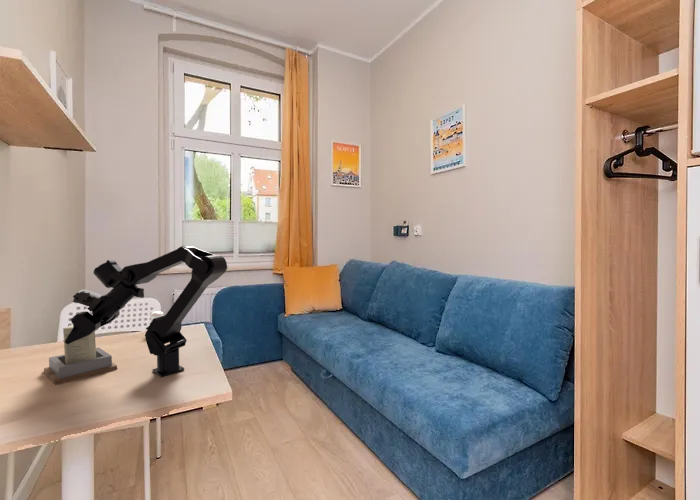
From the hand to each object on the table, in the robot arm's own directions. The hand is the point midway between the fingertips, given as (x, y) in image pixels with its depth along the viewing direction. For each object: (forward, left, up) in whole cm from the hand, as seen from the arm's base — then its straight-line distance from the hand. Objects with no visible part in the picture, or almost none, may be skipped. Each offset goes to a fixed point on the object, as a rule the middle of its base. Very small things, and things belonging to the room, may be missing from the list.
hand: (74, 338), depth 99 cm
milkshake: (+21, -31, -10) cm, 39 cm away
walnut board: (-1, -1, -10) cm, 10 cm away
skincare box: (-1, -1, -9) cm, 9 cm away
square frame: (-1, -1, -9) cm, 9 cm away
